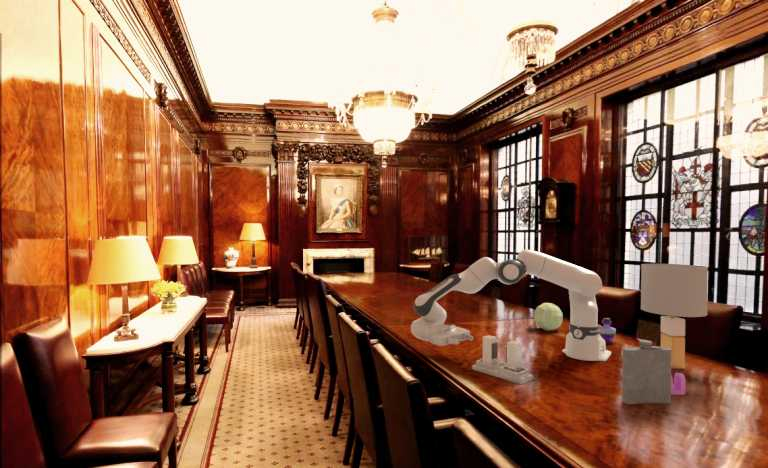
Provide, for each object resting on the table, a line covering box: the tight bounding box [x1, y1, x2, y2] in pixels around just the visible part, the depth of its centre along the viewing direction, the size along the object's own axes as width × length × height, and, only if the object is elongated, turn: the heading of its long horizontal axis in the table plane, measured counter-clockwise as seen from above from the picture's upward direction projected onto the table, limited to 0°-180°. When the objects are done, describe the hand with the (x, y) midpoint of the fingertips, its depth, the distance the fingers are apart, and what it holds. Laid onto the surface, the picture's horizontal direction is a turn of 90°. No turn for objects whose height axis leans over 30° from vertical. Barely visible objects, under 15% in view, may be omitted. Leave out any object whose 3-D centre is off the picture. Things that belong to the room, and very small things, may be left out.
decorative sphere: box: [533, 302, 564, 332], centre depth 238 cm, size 15×15×15 cm
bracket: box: [671, 372, 686, 396], centre depth 151 cm, size 13×6×7 cm, turn 177°
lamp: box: [640, 263, 709, 370], centre depth 176 cm, size 23×23×42 cm
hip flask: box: [621, 339, 672, 405], centre depth 139 cm, size 16×4×20 cm, turn 94°
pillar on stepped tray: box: [471, 340, 534, 385], centre depth 165 cm, size 8×22×14 cm, turn 42°
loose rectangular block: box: [482, 334, 499, 365], centre depth 169 cm, size 4×5×12 cm
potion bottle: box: [599, 317, 617, 344], centre depth 213 cm, size 9×9×12 cm
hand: (465, 340), depth 178 cm, fingers open, 8 cm apart
